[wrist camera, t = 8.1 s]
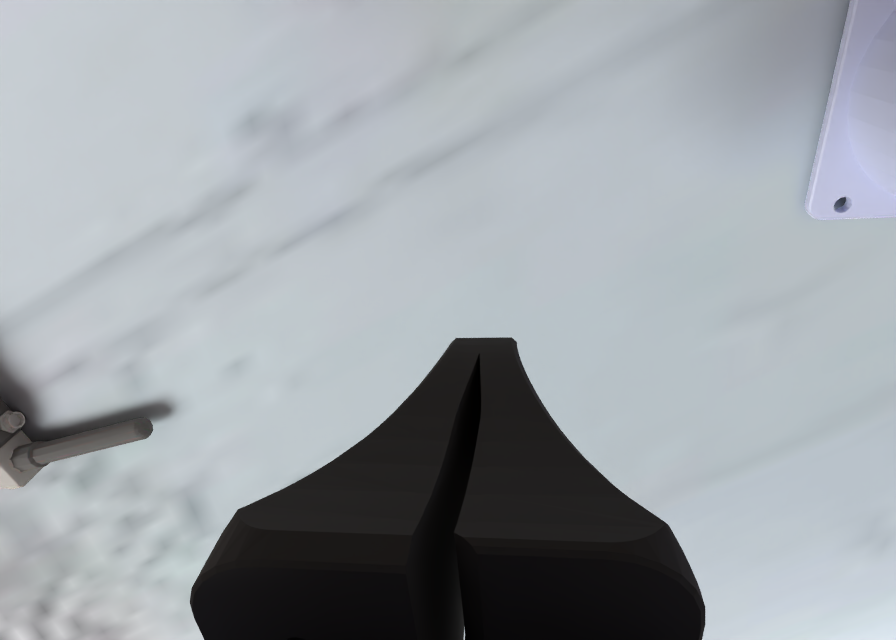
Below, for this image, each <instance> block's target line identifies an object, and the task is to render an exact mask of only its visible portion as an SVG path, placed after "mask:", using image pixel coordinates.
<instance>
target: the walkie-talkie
mask: <svg viewBox="0 0 896 640" xmlns="http://www.w3.org/2000/svg"><path fill="white" fill-rule="evenodd" d="M24 424H25V417H24V415H23V414H22V413H20V412H12V411H11V410H10V409H9V408H8V406H7V405H6V404H5V403H4V402H3V401H2V400H1V398H0V489H4V488H7V489H16V488H20V487H23V486H25V485H26V484H27V483H28V482H29V481H30V480H31V479H32V478H33V477H34V476H35V475H36V474H37V473H38V472H39V471H40V470H41V469H42V468H43V467H44V466H46V465H48V464H49V463H50V462H53V461H57V460H61V459H65V458H69V457H73V456H77V455H82V454H86V453H90V452H94V451H98V450H102V449H106V448H110V447H114V446H118V445H122V444H126V443H130V442H134V441H138V440H143V439H146V438H148V437H149V436H150V435H151V433H152V431H153V425H152V423H151V421H150V420H149V419H147V418H143V417H140V418H136V419H132V420H128V421H124V422H121V423H117V424H113V425H109V426H105V427H101V428H98V429H94V430H90V431H86V432H82V433H78V434H74V435H71V436H67V437H63V438H59V439H55V440H51V441H47V442H44V441H37V442H33V443H32V442H31V441H30V439H29V438H28V437H27V436H26V435H25V434H24V432H23V431H22V430H21V428H22V426H23V425H24Z"/></svg>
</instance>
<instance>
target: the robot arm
mask: <svg viewBox="0 0 896 640" xmlns="http://www.w3.org/2000/svg"><path fill="white" fill-rule="evenodd" d="M842 197H846V202H845V203H844V205H843V206H841V207H840V208H837V209H834V204H835V202H836V201H837V200H838V199H840V198H842ZM805 210H806V211H807V213H808V214H809V215H811V216H812V217H813V218H815V219H819V220H831V219H859V218H886V217H896V0H850V4H849V8H848V13H847V17H846V22H845V26H844V30H843V35H842V39H841V44H840V48H839V53H838V57H837V62H836V66H835V71H834V75H833V80H832V84H831V88H830V93H829V97H828V102H827V106H826V111H825V115H824V120H823V124H822V129H821V133H820V138H819V142H818V146H817V151H816V155H815V160H814V164H813V169H812V173H811V178H810V182H809V187H808V191H807V196H806V200H805ZM190 605H191V608H192V612H193V615H194V618H195V621H196V623H197V625H198V627H199V629H200V631H201V633H202V635H203V638H204V640H463V637H464V627H465V640H702V636H703V632H704V627H705V605H704V602H703V598H702V595H701V591H700V589H699V586H698V583H697V581H696V578H695V576H694V574H693V572H692V569H691V567H690V565H689V563H688V561H687V559H686V556H685V554H684V552H683V550H682V548H681V547H680V545H679V543H678V541H677V539H676V537H675V536H674V534H673V532H672V530H671V529H670V527H669V525H668V524H667V523H665V522H664V521H662V520H661V519H660V518H658V517H657V516H655V515H654V514H652V513H651V512H649V511H648V510H646V509H645V508H643V507H642V506H640V505H639V504H638V503H636V502H635V501H633V500H632V499H630V498H629V497H628V496H626V495H625V494H624V493H622V492H621V491H620V490H619V489H618V488H616V487H615V486H614V485H613V484H611V483H610V482H609V481H608V480H607V479H606V478H605V477H604V476H603V475H602V474H601V473H600V472H599V471H598V470H597V469H596V468H595V467H594V466H593V465H592V464H591V463H589V462H588V461H587V460H586V459H585V458H584V457H583V456H582V454H581V453H580V452H579V451H578V450H577V449H576V448H575V447H574V445H573V444H572V443H571V442H570V441H569V440H568V438H567V437H566V436H565V435H564V433H563V432H562V431H561V430H560V428H559V427H558V426H557V424H556V423H555V421H554V420H553V419H552V417H551V416H550V414H549V413H548V411H547V410H546V408H545V407H544V405H543V404H542V402H541V400H540V399H539V397H538V395H537V393H536V392H535V390H534V388H533V386H532V384H531V382H530V380H529V378H528V376H527V374H526V372H525V370H524V367H523V365H522V362H521V360H520V357H519V353H518V349H517V342H516V341H515V340H514V339H513V338H456V339H455V340H454V341H453V342H452V343H451V344H450V345H449V347H448V348H447V350H446V351H445V353H444V354H443V355H442V357H441V358H440V359H439V361H438V362H437V363H436V365H435V366H434V367H433V369H432V370H431V371H430V372H429V374H428V375H427V376H426V377H425V379H424V380H423V381H422V382H421V383H420V385H419V386H418V387H417V388H416V389H415V390H414V392H413V393H412V394H411V395H410V396H409V397H408V398H407V399H406V400H405V401H404V402H403V403H402V404H401V405H400V406H399V407H398V409H397V410H396V411H395V412H394V413H393V414H392V415H391V416H389V417H388V418H387V419H386V420H385V421H384V422H383V423H382V424H381V425H380V426H379V427H377V428H376V429H375V430H374V431H373V432H372V433H370V434H369V435H368V436H367V437H365V438H364V439H363V440H361V441H360V442H359V443H357V444H356V445H354V446H353V447H351V448H350V449H349V450H347V451H346V452H344V453H343V454H342V455H340V456H339V457H337V458H336V459H334V460H333V461H331V462H330V463H328V464H327V465H325V466H323V467H322V468H320V469H318V470H317V471H315V472H313V473H312V474H310V475H308V476H306V477H304V478H303V479H301V480H299V481H297V482H295V483H294V484H292V485H290V486H288V487H286V488H284V489H282V490H280V491H278V492H275V493H273V494H271V495H269V496H267V497H265V498H262V499H260V500H258V501H256V502H254V503H252V504H250V505H247V506H245V507H243V508H240V509H238V510H237V512H236V513H235V515H234V516H233V518H232V519H231V521H230V522H229V524H228V525H227V527H226V528H225V530H224V531H223V533H222V534H221V536H220V538H219V540H218V541H217V543H216V545H215V547H214V549H213V550H212V552H211V554H210V556H209V558H208V559H207V561H206V563H205V565H204V567H203V569H202V570H201V572H200V574H199V576H198V578H197V580H196V581H195V583H194V585H193V587H192V591H191V598H190Z"/></svg>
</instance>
